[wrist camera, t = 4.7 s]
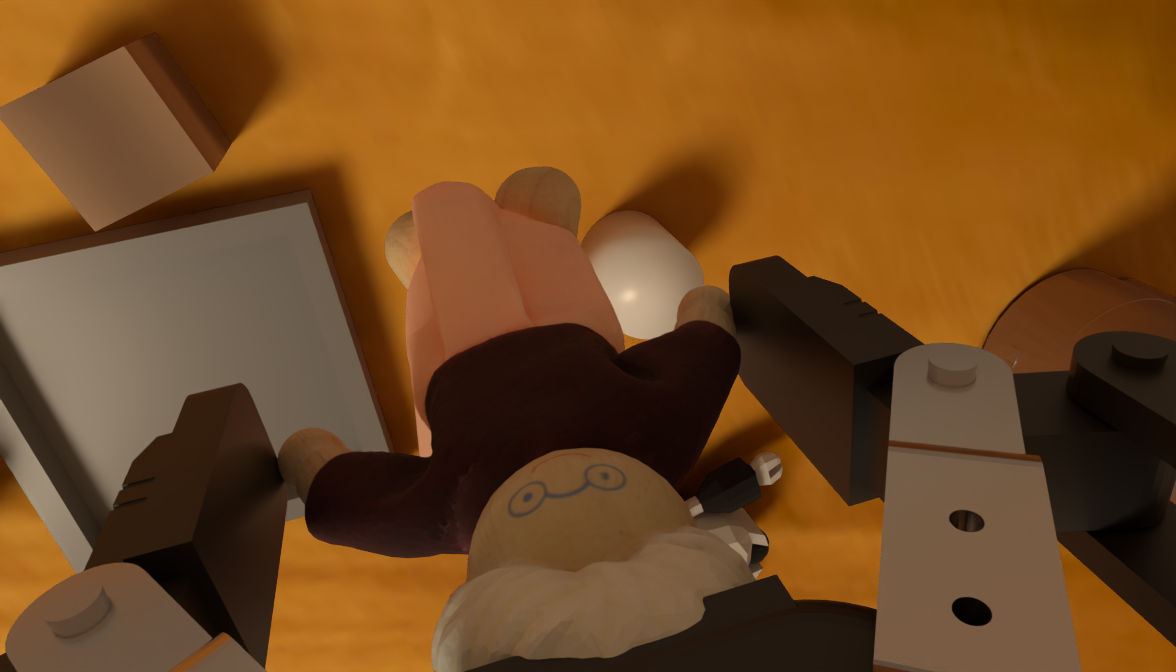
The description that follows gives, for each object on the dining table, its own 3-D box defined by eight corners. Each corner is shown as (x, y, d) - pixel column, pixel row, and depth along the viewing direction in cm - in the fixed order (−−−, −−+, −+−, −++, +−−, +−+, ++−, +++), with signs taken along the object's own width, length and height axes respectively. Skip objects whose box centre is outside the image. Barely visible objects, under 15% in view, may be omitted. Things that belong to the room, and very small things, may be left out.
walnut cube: (156, 32, 25) (123, 46, 22) (232, 142, 27) (214, 172, 24) (43, 87, 25) (-7, 110, 21) (128, 194, 27) (95, 231, 23)
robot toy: (761, 412, 40) (475, 443, 35) (810, 462, 36) (498, 505, 31) (720, 591, 45) (467, 640, 40) (760, 651, 42) (486, 713, 36)
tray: (309, 188, 28) (306, 202, 27) (399, 466, 35) (401, 489, 33) (-80, 269, 26) (-106, 288, 25) (91, 549, 32) (79, 577, 31)
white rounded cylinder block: (663, 200, 32) (700, 232, 29) (671, 286, 34) (707, 325, 31) (571, 221, 32) (598, 255, 28) (585, 307, 33) (611, 350, 30)
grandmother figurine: (579, 89, 16) (1017, 375, 5) (647, 237, 18) (1072, 668, 7) (262, 265, 16) (62, 914, 5) (364, 395, 18) (369, 1067, 7)
